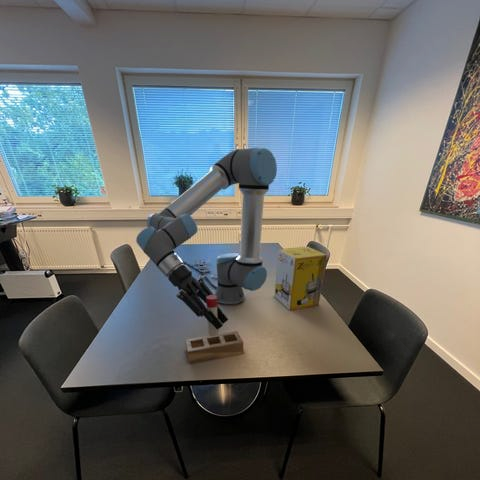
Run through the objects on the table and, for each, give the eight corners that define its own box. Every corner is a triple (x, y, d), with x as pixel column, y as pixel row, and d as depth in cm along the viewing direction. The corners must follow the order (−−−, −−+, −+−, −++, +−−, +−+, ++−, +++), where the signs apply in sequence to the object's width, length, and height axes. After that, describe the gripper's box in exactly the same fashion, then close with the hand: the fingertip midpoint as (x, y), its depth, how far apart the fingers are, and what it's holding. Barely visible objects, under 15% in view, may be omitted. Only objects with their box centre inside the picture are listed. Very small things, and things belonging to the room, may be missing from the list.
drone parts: (226, 261, 189) (226, 257, 187) (235, 279, 160) (235, 274, 158) (194, 262, 184) (194, 258, 183) (197, 280, 155) (197, 275, 153)
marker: (207, 331, 91) (205, 295, 84) (217, 330, 92) (215, 294, 85) (209, 336, 88) (207, 300, 81) (219, 335, 89) (217, 298, 82)
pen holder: (186, 350, 95) (185, 339, 93) (237, 341, 100) (237, 330, 98) (189, 363, 89) (187, 351, 86) (243, 353, 94) (243, 341, 91)
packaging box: (318, 305, 128) (327, 255, 115) (289, 310, 123) (295, 258, 110) (301, 292, 141) (307, 246, 128) (274, 296, 136) (278, 249, 123)
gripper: (166, 271, 75) (218, 331, 78) (195, 257, 88) (239, 308, 91) (154, 285, 80) (204, 342, 82) (184, 269, 93) (226, 318, 96)
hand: (222, 324), depth 87 cm, fingers closed on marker, 3 cm apart
